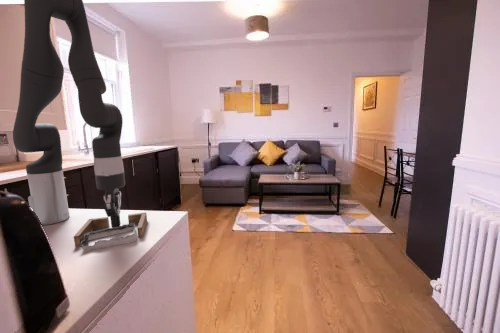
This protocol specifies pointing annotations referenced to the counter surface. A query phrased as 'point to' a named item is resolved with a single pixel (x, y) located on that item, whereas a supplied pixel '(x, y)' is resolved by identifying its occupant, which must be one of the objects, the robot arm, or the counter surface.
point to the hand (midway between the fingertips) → (116, 226)
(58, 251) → the counter surface
